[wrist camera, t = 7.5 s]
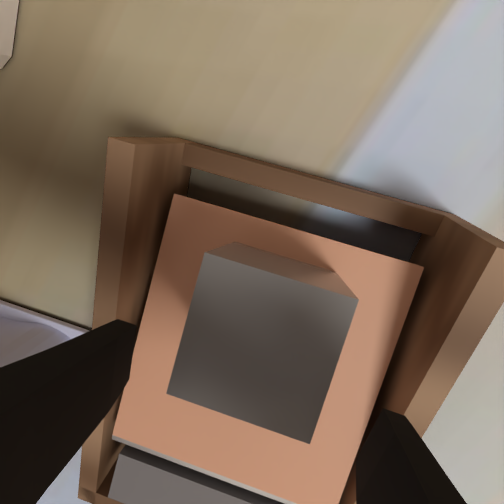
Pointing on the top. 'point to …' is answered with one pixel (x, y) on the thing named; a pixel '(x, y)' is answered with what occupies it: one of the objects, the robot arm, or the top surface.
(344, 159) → the top surface
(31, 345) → the robot arm
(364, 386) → the trapdoor
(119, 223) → the trapdoor box
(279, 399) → the grey block
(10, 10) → the cup
